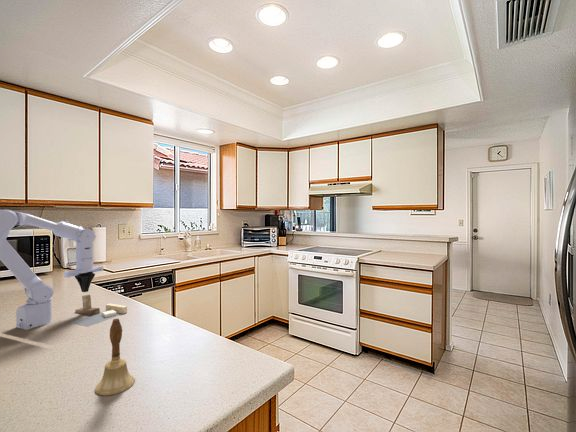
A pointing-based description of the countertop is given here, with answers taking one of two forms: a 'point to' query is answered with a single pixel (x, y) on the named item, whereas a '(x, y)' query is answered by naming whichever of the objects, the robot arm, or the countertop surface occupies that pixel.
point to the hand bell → (115, 367)
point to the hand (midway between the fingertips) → (84, 291)
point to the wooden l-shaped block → (87, 306)
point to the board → (98, 317)
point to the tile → (109, 313)
